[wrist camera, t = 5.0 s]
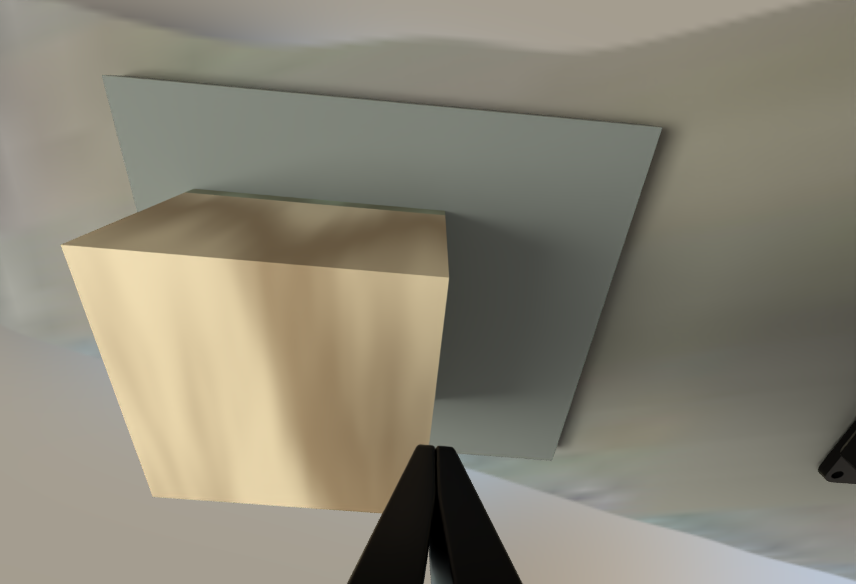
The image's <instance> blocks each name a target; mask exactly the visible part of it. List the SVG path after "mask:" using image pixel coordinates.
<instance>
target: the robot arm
mask: <svg viewBox="0 0 856 584" xmlns="http://www.w3.org/2000/svg"><path fill="white" fill-rule="evenodd" d="M818 472H819V473H820V474H821V475H822V476H823V477H824V478H825V479H826V480H827V481H829V482H836V483H849V484H856V421H855V422H854V424H853V425H852V426H851V427H850V429H849V430H848V431H847V432H846V434H845V435H844V436H843V438H842V439H841V440H840V441H839V443H838V444H837V445H836V446H835V448H834V449H833V450H832V451H831V453H830V454H829V455H828V456H827V458H826V459H825V460H824V462H823V463H822V464H821V465H820V467H819V469H818ZM428 551H429V557H430V575H431V584H522V582H521V580H520V578H519V576H518V574H517V572H516V570H515V568H514V566H513V564H512V562H511V560H510V558H509V556H508V554H507V552H506V550H505V548H504V546H503V544H502V542H501V540H500V538H499V536H498V534H497V532H496V530H495V528H494V526H493V524H492V522H491V520H490V518H489V516H488V514H487V512H486V510H485V508H484V506H483V504H482V502H481V500H480V498H479V496H478V494H477V492H476V490H475V488H474V486H473V484H472V482H471V480H470V478H469V476H468V474H467V472H466V470H465V468H464V466H463V464H462V462H461V460H460V458H459V456H458V454H457V452H456V450H455V449H454V448H453V447H451V446H437V447H436V448H435V447H434V446H433V445H425V444H419V445H417V446H416V448H415V450H414V452H413V454H412V456H411V458H410V460H409V462H408V464H407V466H406V468H405V470H404V472H403V474H402V476H401V478H400V479H399V481H398V483H397V485H396V487H395V489H394V491H393V493H392V495H391V497H390V499H389V501H388V503H387V505H386V507H385V509H384V511H383V513H382V515H381V517H380V519H379V521H378V523H377V525H376V527H375V529H374V531H373V533H372V535H371V537H370V539H369V541H368V543H367V545H366V547H365V549H364V551H363V553H362V555H361V557H360V559H359V561H358V563H357V565H356V567H355V569H354V571H353V573H352V575H351V577H350V579H349V581H348V583H347V584H423V583H424V578H425V571H426V564H427V557H428Z"/></svg>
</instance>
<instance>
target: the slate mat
mask: <svg viewBox="0 0 856 584" xmlns="http://www.w3.org/2000/svg"><path fill="white" fill-rule="evenodd" d="M102 78H103V82H104V86H105V90H106V94H107V98H108V101H109V105H110V109H111V113H112V117H113V121H114V124H115V128H116V132H117V136H118V140H119V144H120V148H121V151H122V155H123V159H124V163H125V167H126V171H127V174H128V178H129V182H130V186H131V190H132V194H133V198H134V201H135V205H136V209H137V212H140V211H142V210H144V209H147V208H149V207H151V206H154V205H156V204H159V203H161V202H163V201H166V200H168V199H170V198H173V197H175V196H177V195H180V194H182V193H185V192H187V191H189V190H192V189H203V190H214V191H225V192H237V193H248V194H260V195H271V196H282V197H294V198H305V199H316V200H328V201H339V202H350V203H362V204H373V205H384V206H396V207H407V208H419V209H430V210H441V211H445V219H446V235H447V252H448V268H449V283H448V291H447V299H446V308H445V316H444V324H443V333H442V341H441V349H440V358H439V366H438V374H437V383H436V391H435V400H434V408H433V416H432V425H431V433H430V441H429V445H433V446H434V447H435V448H436V447H437V446H451V447H453V448H454V449H455V450H456V452H457V453H458V454H471V455H484V456H497V457H510V458H524V459H537V460H550V461H552V459H553V456H554V453H555V450H556V447H557V444H558V441H559V438H560V435H561V432H562V429H563V426H564V423H565V420H566V417H567V414H568V411H569V408H570V405H571V402H572V399H573V396H574V393H575V390H576V387H577V384H578V381H579V378H580V375H581V372H582V369H583V366H584V363H585V360H586V357H587V354H588V351H589V348H590V345H591V342H592V339H593V336H594V333H595V330H596V327H597V324H598V320H599V317H600V314H601V311H602V308H603V305H604V302H605V299H606V296H607V293H608V290H609V287H610V284H611V281H612V278H613V275H614V272H615V269H616V266H617V263H618V260H619V257H620V254H621V251H622V248H623V245H624V242H625V239H626V236H627V233H628V230H629V227H630V224H631V221H632V218H633V215H634V212H635V209H636V206H637V203H638V200H639V197H640V194H641V191H642V188H643V185H644V182H645V179H646V176H647V173H648V169H649V166H650V163H651V160H652V157H653V154H654V151H655V148H656V145H657V142H658V139H659V136H660V133H661V130H662V127H657V126H651V125H642V124H632V123H621V122H610V121H600V120H589V119H578V118H568V117H557V116H546V115H536V114H525V113H514V112H504V111H493V110H482V109H471V108H461V107H450V106H439V105H429V104H418V103H407V102H397V101H386V100H375V99H365V98H354V97H343V96H333V95H322V94H311V93H301V92H290V91H279V90H269V89H258V88H247V87H236V86H226V85H215V84H204V83H194V82H183V81H172V80H162V79H151V78H140V77H130V76H114V75H102Z"/></svg>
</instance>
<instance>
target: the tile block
mask: <svg viewBox="0 0 856 584" xmlns="http://www.w3.org/2000/svg"><path fill="white" fill-rule="evenodd" d="M61 247H62V249H63V252H64V255H65V258H66V260H67V263H68V266H69V269H70V271H71V274H72V277H73V280H74V282H75V285H76V288H77V291H78V293H79V296H80V299H81V301H82V304H83V307H84V310H85V312H86V315H87V318H88V321H89V323H90V326H91V329H92V332H93V334H94V337H95V340H96V342H97V345H98V348H99V351H100V353H101V356H102V359H103V362H104V364H105V367H106V370H107V372H108V375H109V378H110V381H111V384H112V386H113V389H114V392H115V394H116V397H117V400H118V403H119V405H120V408H121V411H122V414H123V416H124V419H125V422H126V424H127V427H128V430H129V433H130V435H131V438H132V441H133V444H134V446H135V449H136V452H137V455H138V457H139V460H140V463H141V466H142V468H143V471H144V474H145V477H146V479H147V482H148V485H149V487H150V490H151V493H152V496H153V497H163V498H178V499H191V500H205V501H219V502H233V503H246V504H260V505H275V506H288V507H301V508H315V509H329V510H343V511H358V512H370V513H383V511H384V509H385V507H386V505H387V503H388V501H389V499H390V497H391V495H392V493H393V491H394V489H395V487H396V485H397V483H398V481H399V479H400V478H401V476H402V474H403V472H404V470H405V468H406V466H407V464H408V462H409V460H410V458H411V456H412V454H413V452H414V450H415V448H416V446H417V445H419V444H425V445H429V441H430V433H431V425H432V416H433V408H434V400H435V391H436V383H437V374H438V366H439V358H440V349H441V341H442V333H443V324H444V316H445V308H446V299H447V291H448V283H449V268H448V252H447V235H446V219H445V211H441V210H430V209H419V208H407V207H396V206H384V205H373V204H362V203H350V202H339V201H328V200H316V199H305V198H294V197H282V196H271V195H260V194H248V193H237V192H225V191H214V190H203V189H192V190H189V191H187V192H185V193H182V194H180V195H177V196H175V197H173V198H170V199H168V200H166V201H163V202H161V203H159V204H156V205H154V206H151V207H149V208H147V209H144V210H142V211H140V212H137V213H135V214H133V215H130V216H128V217H125V218H123V219H121V220H118V221H116V222H114V223H111V224H109V225H106V226H104V227H102V228H99V229H97V230H95V231H92V232H90V233H88V234H85V235H83V236H80V237H78V238H76V239H73V240H71V241H69V242H66V243H64V244H62V245H61Z"/></svg>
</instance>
